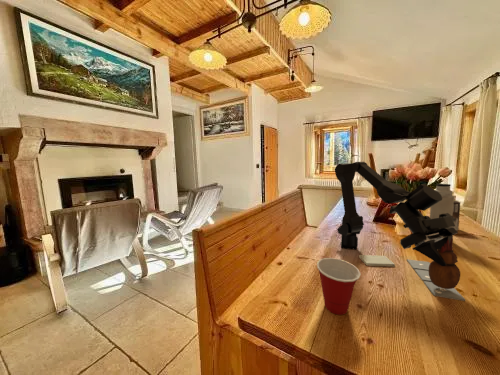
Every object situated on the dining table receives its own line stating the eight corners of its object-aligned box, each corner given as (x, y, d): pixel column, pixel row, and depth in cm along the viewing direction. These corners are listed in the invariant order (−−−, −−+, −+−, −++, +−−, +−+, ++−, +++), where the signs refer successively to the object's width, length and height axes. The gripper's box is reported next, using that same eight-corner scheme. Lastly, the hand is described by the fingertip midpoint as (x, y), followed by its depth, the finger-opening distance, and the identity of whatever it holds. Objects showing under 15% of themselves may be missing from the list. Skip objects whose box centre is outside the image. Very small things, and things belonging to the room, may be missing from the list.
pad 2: (422, 280, 66) (422, 279, 66) (414, 270, 73) (414, 269, 73) (449, 285, 64) (450, 283, 64) (439, 273, 70) (439, 272, 70)
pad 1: (413, 269, 74) (413, 267, 74) (406, 260, 80) (406, 259, 80) (437, 272, 71) (437, 271, 71) (428, 263, 77) (429, 261, 77)
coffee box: (455, 227, 116) (457, 200, 114) (458, 231, 111) (461, 202, 109) (434, 225, 121) (436, 199, 119) (436, 228, 116) (438, 201, 114)
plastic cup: (348, 330, 48) (349, 283, 46) (308, 307, 56) (308, 266, 54) (365, 308, 55) (367, 267, 53) (328, 290, 63) (328, 254, 61)
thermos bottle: (425, 236, 105) (428, 183, 101) (444, 237, 102) (448, 183, 99) (433, 242, 97) (437, 184, 94) (454, 243, 94) (459, 184, 91)
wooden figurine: (447, 281, 63) (452, 235, 61) (463, 292, 57) (469, 242, 56) (423, 279, 64) (427, 234, 62) (436, 290, 58) (442, 241, 57)
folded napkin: (366, 265, 77) (366, 263, 77) (359, 257, 84) (359, 255, 84) (394, 266, 76) (394, 264, 76) (384, 258, 83) (384, 255, 82)
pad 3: (433, 295, 59) (433, 293, 59) (423, 282, 65) (423, 281, 65) (465, 301, 56) (465, 299, 56) (451, 286, 63) (451, 285, 63)
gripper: (413, 207, 59) (458, 260, 50) (452, 202, 65) (499, 248, 56) (385, 225, 67) (420, 273, 58) (423, 219, 73) (459, 261, 64)
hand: (450, 264), depth 59 cm, fingers closed on wooden figurine, 5 cm apart
